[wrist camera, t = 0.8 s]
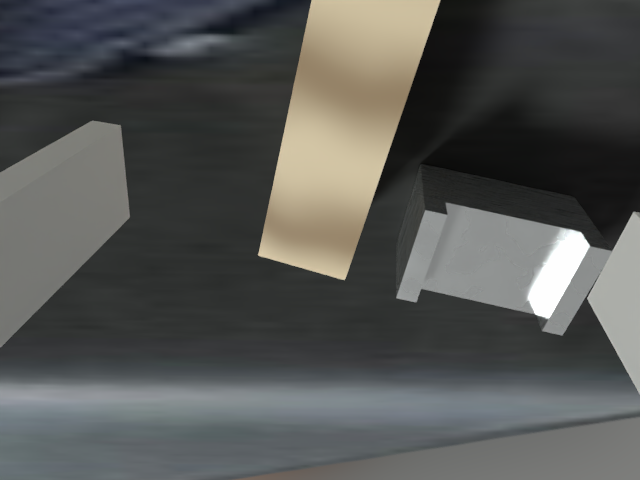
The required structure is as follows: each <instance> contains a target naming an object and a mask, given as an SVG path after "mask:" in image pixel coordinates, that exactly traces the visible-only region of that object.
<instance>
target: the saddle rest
mask: <svg viewBox="0 0 640 480" xmlns="http://www.w3.org/2000/svg"><path fill="white" fill-rule="evenodd" d="M611 253H612V249H611V248H610V247H609V245H608V244H607V242H606V241H605V239H604V238H603V237H602V235H601V234H600V232H599V231H598V230H597V228H596V227H595V225H594V224H593V223H592V221H591V220H590V218H589V217H588V215H587V214H586V213H585V211H584V210H583V208H582V207H581V206H580V204H579V203H578V201H577V200H576V199H575V197H573V196H568V195H564V194H559V193H555V192H550V191H545V190H541V189H536V188H532V187H527V186H522V185H518V184H513V183H508V182H504V181H499V180H495V179H490V178H485V177H481V176H476V175H472V174H467V173H462V172H458V171H453V170H449V169H444V168H439V167H435V166H430V165H425V164H420V167H419V170H418V174H417V177H416V180H415V183H414V187H413V190H412V193H411V196H410V200H409V203H408V206H407V210H406V213H405V216H404V219H403V223H402V226H401V229H400V232H399V236H398V239H397V269H396V298H399V299H403V300H408V301H412V302H416V301H417V299H418V296H419V293H420V290H421V289H425V290H430V291H434V292H439V293H443V294H447V295H452V296H456V297H461V298H465V299H470V300H474V301H479V302H483V303H487V304H492V305H496V306H501V307H505V308H510V309H514V310H519V311H523V312H527V313H532V314H536V316H537V319H538V321H539V324H540V327H541V329H542V331H545V332H549V333H554V334H558V335H563V334H564V332H565V330H566V329H567V327H568V325H569V324H570V322H571V320H572V319H573V317H574V315H575V314H576V312H577V310H578V309H579V307H580V305H581V304H582V302H583V300H584V299H585V297H586V295H587V294H588V292H589V290H590V289H591V287H592V285H593V284H594V282H595V280H596V279H597V277H598V275H599V274H600V272H601V270H602V269H603V267H604V265H605V264H606V262H607V260H608V259H609V257H610V255H611Z"/></svg>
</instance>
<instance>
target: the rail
mask: <svg viewBox="0 0 640 480" xmlns="http://www.w3.org/2000/svg"><path fill="white" fill-rule="evenodd" d="M439 3H440V0H312V1H311V6H310V11H309V16H308V20H307V25H306V30H305V35H304V39H303V44H302V49H301V54H300V59H299V63H298V68H297V73H296V78H295V82H294V87H293V92H292V97H291V102H290V106H289V111H288V116H287V121H286V125H285V130H284V135H283V140H282V144H281V149H280V154H279V159H278V164H277V168H276V173H275V178H274V183H273V187H272V192H271V197H270V202H269V207H268V211H267V216H266V221H265V226H264V230H263V235H262V240H261V245H260V249H259V254H258V256H262V257H265V258H269V259H272V260H276V261H279V262H283V263H286V264H290V265H293V266H297V267H300V268H304V269H307V270H311V271H314V272H318V273H321V274H325V275H328V276H332V277H335V278H339V279H342V280H345V278H346V276H347V273H348V270H349V267H350V264H351V261H352V258H353V255H354V252H355V249H356V246H357V243H358V240H359V237H360V234H361V232H362V229H363V226H364V223H365V220H366V217H367V214H368V211H369V208H370V205H371V202H372V199H373V196H374V193H375V191H376V188H377V185H378V182H379V179H380V176H381V173H382V170H383V167H384V164H385V161H386V158H387V155H388V152H389V150H390V147H391V144H392V141H393V138H394V135H395V132H396V129H397V126H398V123H399V120H400V117H401V114H402V111H403V109H404V106H405V103H406V100H407V97H408V94H409V91H410V88H411V85H412V82H413V79H414V76H415V73H416V70H417V67H418V65H419V62H420V59H421V56H422V53H423V50H424V47H425V44H426V41H427V38H428V35H429V32H430V29H431V26H432V24H433V21H434V18H435V15H436V12H437V9H438V6H439Z"/></svg>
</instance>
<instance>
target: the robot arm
mask: <svg viewBox="0 0 640 480" xmlns="http://www.w3.org/2000/svg"><path fill="white" fill-rule="evenodd" d="M129 218H130V213H129V204H128V194H127V184H126V174H125V164H124V154H123V144H122V134H121V125H115V124H109V123H103V122H97V121H91V122H89V123H87V124H86V125H84V126H82V127H80V128H79V129H77V130H75V131H73V132H71V133H70V134H68V135H66V136H64V137H63V138H61V139H59V140H57V141H55V142H54V143H52V144H50V145H48V146H47V147H45V148H43V149H41V150H39V151H38V152H36V153H34V154H32V155H31V156H29V157H27V158H25V159H23V160H22V161H20V162H18V163H16V164H15V165H13V166H11V167H9V168H7V169H6V170H4V171H2V172H0V347H1V346H2V345H3V344H4V343H5V342H6V341H7V340H8V339H9V338H10V337H11V336H12V335H13V334H14V333H15V332H16V331H17V330H18V329H19V328H20V327H21V326H22V325H23V324H24V323H25V322H26V321H27V320H28V319H29V318H30V317H31V316H32V315H33V314H34V313H35V312H36V311H37V310H38V309H39V308H40V307H41V306H42V305H43V304H44V303H45V302H46V301H47V300H48V299H49V298H50V297H51V296H52V295H53V294H54V293H55V292H56V291H57V290H58V289H59V288H60V287H61V286H62V285H63V284H64V283H65V282H66V281H67V280H68V279H69V278H70V277H71V276H72V275H73V274H74V273H75V272H76V271H77V270H78V269H79V268H80V267H81V266H82V265H83V264H84V263H85V262H86V261H87V260H88V259H89V258H90V257H91V256H92V255H93V254H94V253H95V252H96V251H97V250H98V249H99V248H100V247H101V246H102V245H103V244H104V243H105V242H106V241H107V240H108V239H109V238H110V237H111V236H112V235H113V234H114V233H115V232H116V231H117V230H118V229H119V228H120V227H121V226H122V225H123V224H124V223H125V222H126V221H127V220H128V219H129ZM587 299H588V301H589V303H590V305H591V306H592V308H593V310H594V312H595V314H596V316H597V317H598V319H599V321H600V323H601V325H602V326H603V328H604V330H605V332H606V334H607V336H608V337H609V339H610V341H611V343H612V345H613V347H614V348H615V350H616V352H617V354H618V356H619V357H620V359H621V361H622V363H623V365H624V367H625V368H626V370H627V372H628V374H629V376H630V377H631V379H632V381H633V383H634V385H635V387H636V388H637V390H638V392H639V394H640V213H639V212H633V214H632V216H631V217H630V219H629V221H628V223H627V225H626V227H625V229H624V231H623V232H622V234H621V236H620V238H619V240H618V242H617V244H616V246H615V247H614V249H613V251H612V253H611V255H610V257H609V259H608V261H607V262H606V264H605V266H604V268H603V270H602V272H601V274H600V276H599V277H598V279H597V281H596V283H595V285H594V287H593V289H592V291H591V292H590V294H589V296H588V298H587Z"/></svg>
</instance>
